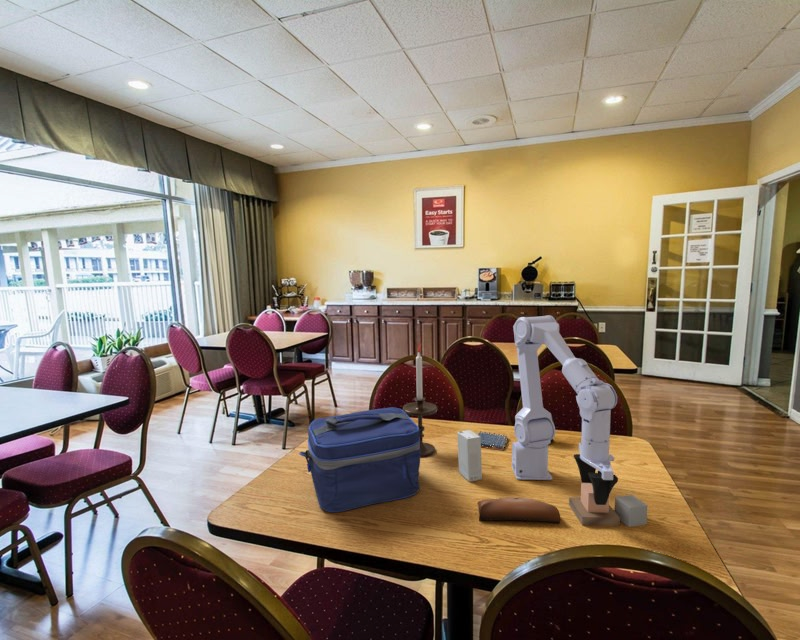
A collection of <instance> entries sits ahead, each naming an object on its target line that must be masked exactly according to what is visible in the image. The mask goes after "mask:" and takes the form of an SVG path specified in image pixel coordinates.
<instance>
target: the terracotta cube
mask: <svg viewBox="0 0 800 640" xmlns="http://www.w3.org/2000/svg"><path fill="white" fill-rule="evenodd" d="M580 497H581V502H582V504H583V505H584V507H585V508H586V510H587V511H588V512H605V513H609V505H610V496H609V497H608V500H607V503H606V505H596V503H595V501H594V493H593V486H592V483H582V482H580Z"/></svg>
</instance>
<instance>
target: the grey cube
mask: <svg viewBox="0 0 800 640" xmlns="http://www.w3.org/2000/svg"><path fill="white" fill-rule="evenodd" d="M648 506H649V505H648V504H646V503H645V502H643V501H642V500H641V499H639V498H637V497H636V496H635V495H633V494H627V495H621V496H614V508H613V510H614V511H615V512H616V514H617V515H618V516H619V517H620V521H621V522H622V523H623V524H624V525H625V526H626V527H628V528H631V527H637V526H644V525H645V526H646V525H647V524H648Z"/></svg>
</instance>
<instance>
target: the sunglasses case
mask: <svg viewBox="0 0 800 640" xmlns="http://www.w3.org/2000/svg"><path fill="white" fill-rule="evenodd" d="M477 507H478V517H479V518H478V520H479V521H500V520H501V521H507V520H508V521H509V520H511V521H532V522H551V523H553V522H554V523H559V524H561V514H560V511H559V509H558V508H557V506H555V505H553V504H550V503H548V502H545V501H542V500H539V499H538V500H537V499H533V498H528V497H527V498H526V497H517V496H513V497H511V496H505V497H499V498H488V499H482V500H479V501H477Z"/></svg>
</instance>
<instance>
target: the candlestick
mask: <svg viewBox="0 0 800 640" xmlns="http://www.w3.org/2000/svg"><path fill="white" fill-rule="evenodd" d="M421 347H422V343H420V344H419V346H418V348H417V355H416V357H415V367H416V370H415V371H416V372H415V374H416V382H415V383H416V397H414V398H413V400H414V401H413V402H412V401H411V402H408V403H405V404H404V405H403V406H402V410H403V411H404V412H405V413H406V414H407V415H408V416H415V417H417V426H418V427H419V431H420V435H419V437H420V449H421V458H424V457H425V458H426V457H430V456H432V455H434V454H435V452H436V451H435V450H436V447H435V445H433V444H431V443H428V442H423V440H424V439H423V438H424V437H425V434H424V433H423V432H424V431H425V426H424V425H423V417H425V416H427V417H428V416H430V415H431V416H432V415H434V414H436V413H437V411H438V406H437V405H436V404H435V403H433V402H430V401H429V402H427V401H426V400H427V398H426V397H423V391H424V390H423V356H421Z"/></svg>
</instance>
